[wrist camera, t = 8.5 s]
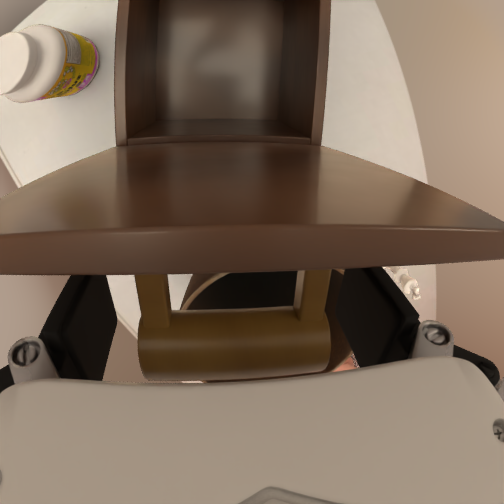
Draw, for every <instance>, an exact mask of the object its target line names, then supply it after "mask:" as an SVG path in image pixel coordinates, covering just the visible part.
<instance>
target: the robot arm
mask: <svg viewBox="0 0 504 504" xmlns="http://www.w3.org/2000/svg"><path fill="white" fill-rule="evenodd" d="M335 315H336V318H337V320H338V322H339V324H340V326H341V328H342V330H343V332H344V335H345V337H346V339H347V341H348V343H349V345H350V347H351V349H352V351H353V354H354V356H355V358H356V360H357V362H358V364H359V366H360V368H356V369H350V370H343V371H337V372H330V373H323V374H315V375H307V376H298V377H289V378H279V379H268V380H255V381H240V382H220V383H173V384H172V383H133V382H110V381H102V379H103V375H104V371H105V367H106V363H107V359H108V355H109V351H110V347H111V344H112V340H113V336H114V333H115V329H116V326H117V315H116V311H115V308H114V304H113V300H112V297H111V293H110V289H109V285H108V281H107V277H106V275H71V276H70V278H69V279H68V281H67V283H66V285H65V287H64V288H63V290H62V292H61V294H60V295H59V297H58V299H57V301H56V303H55V305H54V307H53V309H52V310H51V313H50V314H49V316H48V318H47V320H46V322H45V324H44V326H43V329H42V330H41V333H40V335H39V337H38V338H37V337H32V336H31V337H25V338H22V339H20V340H19V341H17V342H16V343H15V344H14V345H13V346H12V347H11V349H10V350H9V353H8V363H9V365H7V366H5V367H3V368H2V369H0V504H504V377H503V378H502V379H500V375H499V371H498V369H497V367H496V366H495V364H493V362H491V361H490V360H488V359H486V358H484V357H481V356H479V355H477V354H474V353H472V352H470V351H467V350H465V349H462V348H460V347H458V346H456V345H454V338H453V334H452V332H451V331H450V330H449V328H447V327H446V326H445V325H444V324H442V323H440V322H438V321H434V320H426V321H423V322H422V323H420V322H419V320H418V318H419V316H420V315H419V314H418V313H417V311H416V310H415V309H414V307H413V306H412V305H411V303H410V302H409V301H408V299H407V298H406V297H405V295H404V294H403V293H402V291H401V290H400V289H399V288H398V286H397V285H396V284H395V282H394V281H393V280H392V279H391V277H390V276H389V275H388V274H387V272H386V271H385V270H384V269H383V267H371V268H350V269H345V271H344V275H343V279H342V283H341V287H340V291H339V295H338V299H337V303H336V307H335Z"/></svg>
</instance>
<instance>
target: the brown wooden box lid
mask: <svg viewBox="0 0 504 504" xmlns="http://www.w3.org/2000/svg"><path fill="white" fill-rule="evenodd" d="M500 259H504V222H503V221H501V220H500V219H498V218H496V217H494V216H492V215H490V214H488V213H486V212H484V211H483V210H481V209H479V208H477V207H475V206H473V205H471V204H469V203H466V202H464V201H462V200H460V199H458V198H456V197H454V196H452V195H450V194H448V193H445V192H443V191H441V190H439V189H437V188H434V187H432V186H430V185H427V184H425V183H423V182H420V181H418V180H416V179H413V178H411V177H408V176H406V175H403V174H401V173H398V172H396V171H393V170H391V169H388V168H385V167H383V166H380V165H377V164H375V163H372V162H369V161H366V160H364V159H361V158H358V157H355V156H352V155H349V154H346V153H343V152H340V151H337V150H334V149H331V148H328V147H324V146H317V145H303V144H286V143H262V142H184V143H160V144H144V145H130V146H119V147H113V148H110V149H108V150H105V151H102V152H100V153H97V154H95V155H92V156H89V157H87V158H84V159H82V160H80V161H77V162H75V163H72V164H70V165H68V166H65V167H63V168H61V169H58V170H56V171H54V172H52V173H50V174H47V175H45V176H43V177H41V178H39V179H37V180H35V181H33V182H31V183H29V184H27V185H25V186H23V187H21V188H19V189H17V190H15V191H13V192H11V193H9V194H7V195H5V196H3V197H2V198H0V275H135V282H136V288H137V294H138V299H139V305H140V310H141V318H140V321H139V327H138V356H139V363H140V367H141V371H142V373H143V376H144V377H145V379H147V380H154V381H205V380H232V379H249V378H263V377H274V376H285V375H294V374H303V373H311V372H319V371H322V370H324V369H325V368H326V367H327V365H328V362H329V359H330V353H331V334H330V327H329V323H328V319H327V316H326V313H325V311H324V310H325V304H326V299H327V294H328V288H329V283H330V277H331V271H332V269H350V268H371V267H390V266H408V265H426V264H441V263H458V262H472V261H486V260H500ZM276 271H298V273H297V282H296V290H295V298H294V306H282V307H263V308H241V309H212V310H171V302H170V294H169V285H168V276H167V274H206V273H244V272H276Z"/></svg>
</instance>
